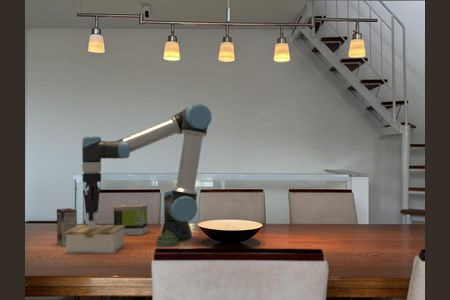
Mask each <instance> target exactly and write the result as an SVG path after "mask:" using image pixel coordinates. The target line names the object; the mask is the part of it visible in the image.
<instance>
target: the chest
mask: <svg viewBox="0 0 450 300" xmlns="http://www.w3.org/2000/svg"><path fill="white" fill-rule="evenodd" d="M124 246H125V235H124V229H121V230H120V231H118V232H117V233H115V234H114V235H92V238H85V235H66V246H65V249H66V253H65V254H67V255H68V254H70V255H71V254H76V255H77V254H84V255H86V254H87V255H88V254H95V255H96V254H100V255H101V254H103V255H104V254H105V255H106V254H115V253H116V252H118V251H119V250H120V249H122V248H123V247H124Z"/></svg>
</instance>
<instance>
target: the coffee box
mask: <svg viewBox="0 0 450 300" xmlns="http://www.w3.org/2000/svg"><path fill="white" fill-rule="evenodd" d="M77 211H78V210H76V209H74V208H57V209H56V233H57V234H56V241H57V244H58V245H59V246H61V247H63V248H64V247H65V248H66V235H64V232H66V231H68V230H70V229H73V228H75V227H77V226H78V225H77V221H78V220H77V218H78V217H77V216H78V215H77Z"/></svg>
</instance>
